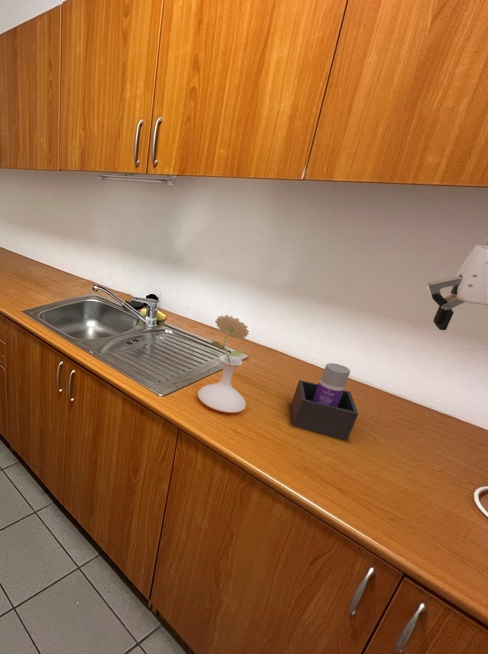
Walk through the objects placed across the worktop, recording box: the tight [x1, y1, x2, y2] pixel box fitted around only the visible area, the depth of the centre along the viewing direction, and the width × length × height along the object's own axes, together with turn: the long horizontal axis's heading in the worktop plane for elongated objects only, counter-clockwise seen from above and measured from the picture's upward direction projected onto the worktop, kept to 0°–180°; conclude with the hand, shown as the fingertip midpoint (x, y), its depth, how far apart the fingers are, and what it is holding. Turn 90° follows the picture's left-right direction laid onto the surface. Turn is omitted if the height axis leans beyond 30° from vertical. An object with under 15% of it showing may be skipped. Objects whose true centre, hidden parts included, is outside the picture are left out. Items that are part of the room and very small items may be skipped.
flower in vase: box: [197, 314, 250, 414], centre depth 103 cm, size 13×11×25 cm
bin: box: [290, 379, 359, 441], centre depth 98 cm, size 10×10×8 cm
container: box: [313, 362, 351, 407], centre depth 97 cm, size 5×5×15 cm
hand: (477, 332), depth 73 cm, fingers open, 9 cm apart
